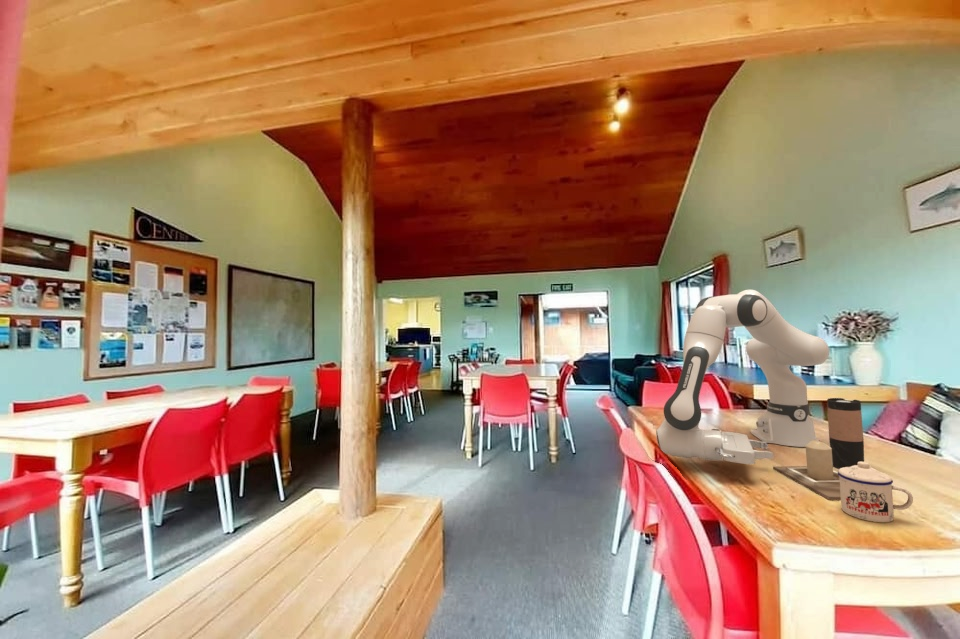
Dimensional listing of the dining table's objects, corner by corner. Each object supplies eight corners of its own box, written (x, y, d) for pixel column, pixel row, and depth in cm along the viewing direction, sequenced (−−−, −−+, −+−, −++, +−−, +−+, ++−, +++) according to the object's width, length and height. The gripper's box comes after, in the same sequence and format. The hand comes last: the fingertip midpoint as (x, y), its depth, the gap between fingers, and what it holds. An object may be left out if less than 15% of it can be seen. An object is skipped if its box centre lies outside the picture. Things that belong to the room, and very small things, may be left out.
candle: (839, 481, 108) (836, 443, 108) (819, 482, 108) (816, 444, 108) (821, 473, 114) (819, 438, 114) (802, 474, 114) (800, 439, 114)
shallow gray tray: (773, 469, 121) (772, 462, 121) (819, 468, 119) (819, 462, 120) (829, 500, 99) (828, 492, 99) (886, 500, 98) (886, 491, 98)
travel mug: (839, 471, 117) (834, 402, 118) (825, 462, 124) (821, 397, 125) (872, 472, 115) (867, 402, 115) (856, 463, 122) (851, 398, 123)
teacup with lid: (841, 516, 91) (838, 464, 91) (838, 502, 98) (835, 454, 98) (919, 531, 83) (915, 475, 83) (910, 514, 90) (906, 462, 90)
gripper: (715, 444, 113) (775, 449, 107) (713, 427, 131) (764, 431, 125) (716, 466, 113) (777, 473, 106) (714, 446, 131) (765, 451, 124)
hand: (770, 450), depth 116 cm, fingers open, 8 cm apart
